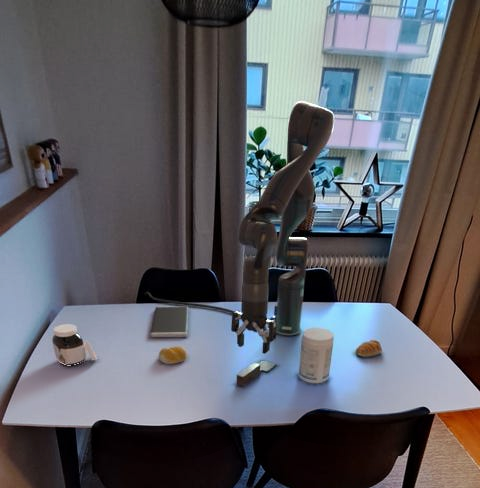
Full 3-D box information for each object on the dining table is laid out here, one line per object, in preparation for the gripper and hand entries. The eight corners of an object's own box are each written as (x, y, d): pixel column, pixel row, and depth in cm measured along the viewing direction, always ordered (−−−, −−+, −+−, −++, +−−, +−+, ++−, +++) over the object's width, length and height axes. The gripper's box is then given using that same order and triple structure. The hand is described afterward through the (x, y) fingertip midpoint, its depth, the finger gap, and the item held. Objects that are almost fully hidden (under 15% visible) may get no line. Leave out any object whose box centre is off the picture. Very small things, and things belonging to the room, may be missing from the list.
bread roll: (190, 360, 158) (190, 349, 156) (166, 366, 154) (165, 355, 152) (179, 351, 164) (178, 340, 162) (155, 357, 160) (154, 346, 157)
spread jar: (53, 360, 156) (45, 327, 149) (83, 350, 163) (77, 317, 156) (73, 373, 150) (65, 338, 143) (103, 361, 156) (98, 328, 150)
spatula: (246, 388, 144) (247, 378, 142) (232, 383, 146) (232, 373, 144) (276, 365, 156) (277, 356, 154) (262, 361, 159) (263, 352, 157)
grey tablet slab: (188, 310, 195) (188, 306, 194) (187, 337, 173) (187, 333, 172) (155, 310, 194) (155, 306, 193) (150, 338, 172) (150, 333, 171)
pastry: (365, 360, 161) (367, 350, 159) (350, 353, 165) (351, 343, 163) (382, 353, 166) (385, 342, 164) (367, 346, 170) (369, 336, 168)
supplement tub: (319, 368, 156) (325, 325, 147) (334, 381, 148) (340, 337, 140) (292, 372, 153) (296, 329, 144) (306, 386, 146) (311, 342, 137)
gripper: (283, 297, 134) (279, 350, 143) (240, 288, 140) (239, 339, 150) (270, 305, 129) (267, 360, 138) (226, 294, 135) (226, 347, 144)
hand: (252, 349), depth 144 cm, fingers open, 8 cm apart
